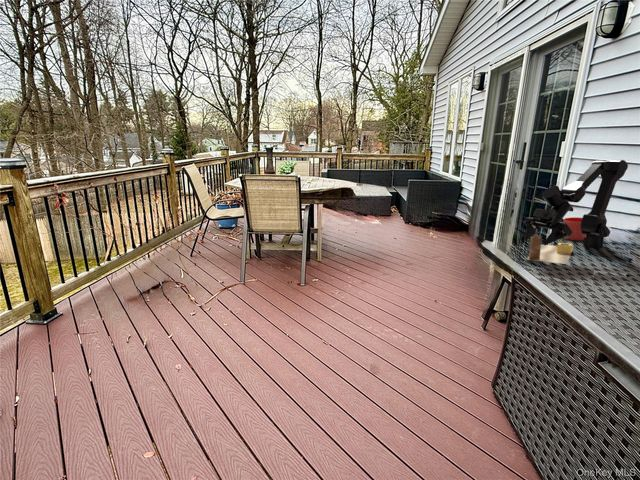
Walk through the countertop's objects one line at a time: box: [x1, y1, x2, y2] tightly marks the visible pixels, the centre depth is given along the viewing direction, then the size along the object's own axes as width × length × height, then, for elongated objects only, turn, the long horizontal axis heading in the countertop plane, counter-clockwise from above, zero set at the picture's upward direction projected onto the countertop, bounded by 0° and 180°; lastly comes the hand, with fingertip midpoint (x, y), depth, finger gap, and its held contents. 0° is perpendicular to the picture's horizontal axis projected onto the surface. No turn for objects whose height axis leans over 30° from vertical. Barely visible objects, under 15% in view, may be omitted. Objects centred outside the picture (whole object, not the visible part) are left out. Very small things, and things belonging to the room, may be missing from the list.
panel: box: [526, 244, 574, 265], centre depth 149 cm, size 22×26×1 cm
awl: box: [528, 229, 543, 261], centre depth 142 cm, size 4×4×13 cm
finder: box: [556, 242, 574, 255], centre depth 148 cm, size 5×4×4 cm
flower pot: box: [563, 216, 586, 241], centre depth 168 cm, size 11×11×10 cm
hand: (534, 242), depth 142 cm, fingers open, 9 cm apart
